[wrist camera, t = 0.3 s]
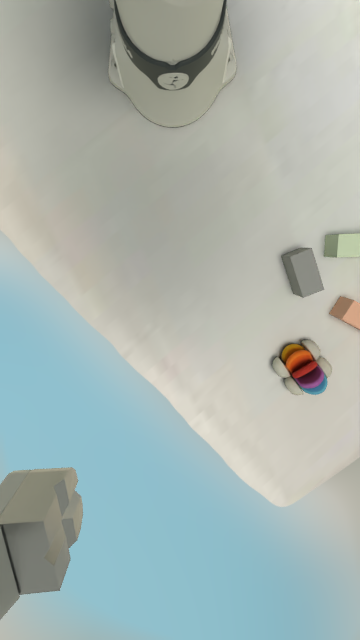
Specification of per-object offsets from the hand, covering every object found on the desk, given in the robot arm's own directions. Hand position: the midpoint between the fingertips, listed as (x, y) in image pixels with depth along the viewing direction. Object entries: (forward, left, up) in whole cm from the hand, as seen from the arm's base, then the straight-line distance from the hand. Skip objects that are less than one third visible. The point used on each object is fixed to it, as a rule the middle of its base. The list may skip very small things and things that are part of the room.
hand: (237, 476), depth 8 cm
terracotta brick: (+8, +29, -47) cm, 56 cm away
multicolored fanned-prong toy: (+17, +20, -47) cm, 54 cm away
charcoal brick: (0, +19, -47) cm, 51 cm away
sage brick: (-4, +27, -47) cm, 54 cm away
